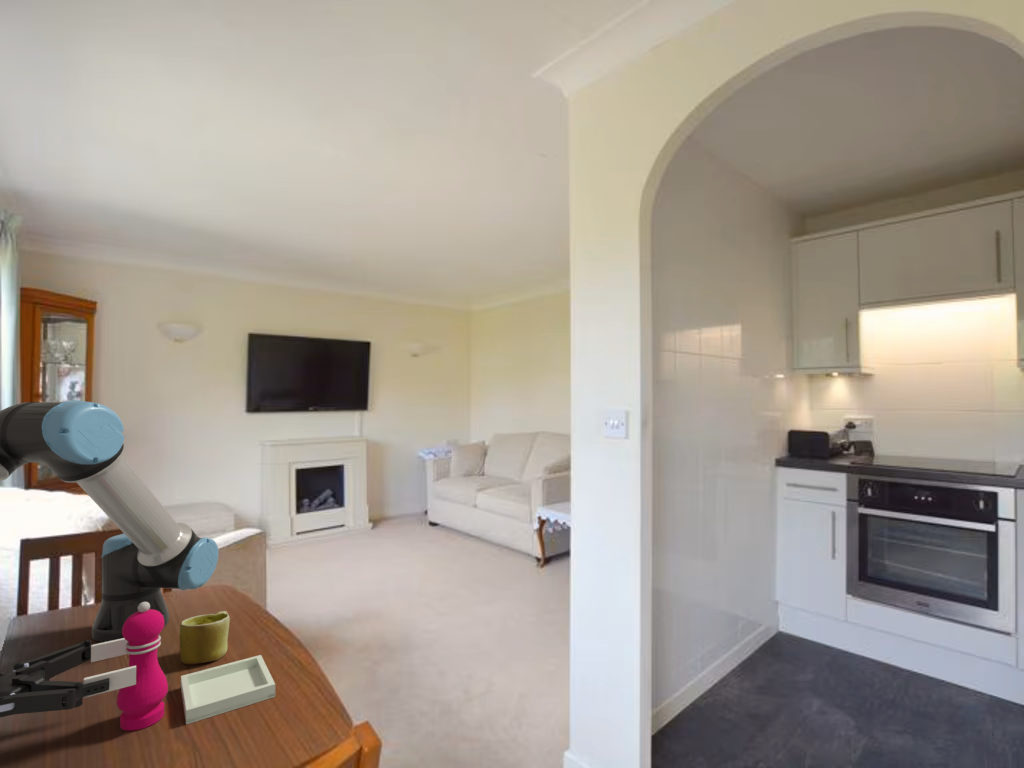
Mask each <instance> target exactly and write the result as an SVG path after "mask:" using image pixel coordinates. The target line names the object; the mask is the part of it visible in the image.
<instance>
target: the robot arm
mask: <svg viewBox="0 0 1024 768" xmlns="http://www.w3.org/2000/svg"><path fill="white" fill-rule="evenodd" d="M124 431H125V428H124V424H123V421H122V420H121V418H120V417H119V415H118V414H117V413H116V412H115V411H114V410H113V409H112V408H110V407H109V406H106V405H104V404H102V403H99V402H92V401H84V400H67V401H29V402H28V401H27V402H21V403H18V404H13V405H10V406H8V407H6V408H4V409H2V410H0V481H5V480H7V479H8V478H9V477H10V476H11V475H12V474H13V473H14V472H15V471H16V470H18V469H19V468H21V467H23V466H25V465H27V464H29V463H30V464H31V463H33V464H45V465H46V466H47V467H48V468H49V470H50V471H51V472H53V474H55V476H57V477H58V478H59V480H60V481H62V482H64V483H76V484H77V485H78V486H79V487H80V488H81V489H82V490H83V491H84V492H85V493H86V494H87V496H88V497H89V498H91V500H92V501H93V502H94V503H95V504H96V505H97V506H98V507H99V508H100V509H101V511H102V512H104V514H105V515H106V516H107V517H108V518H109V519H110V520H111V522H113V523H114V524H115V525H116V527H117V528H118V529H119V530H120V531H121V532H122V533H120V534H117V535H113V536H111V537H109V538H108V539H106V540H104V543H102V544H103V545H102V554H101V557H100V558H101V603H100V605H99V608H98V611H97V613H96V616H95V619H94V621H93V623H92V627H91V638H92V639H93V640H94V641H96V642H99V643H94V644H92V640H91V639H86V640H84V641H82V642H79V643H76V644H73V645H70V646H69V645H68V646H66V647H63V648H61V649H59V650H55V651H52V652H50V653H47V654H43V655H41V656H38V657H35V658H32V659H29V660H23V661H20V662H16V663H13V665H12V672H9V673H6V674H2V673H1V672H0V718H5V717H8V716H12V715H13V716H14V715H21V714H33V713H45V712H54V711H66V710H67V711H68V710H72V709H74V708H79V707H81V706H83V699H85V698H89V697H93V696H98V695H101V694H105V693H110V692H113V691H117V690H119V689H121V688H124V687H128V686H132V685H136V666H132V667H129V666H128V667H124V668H120V669H117V670H112V671H111V670H110V671H107V672H104V673H99V674H95V675H91V676H87V677H84V678H83V681H69V680H68V681H67V680H66V681H65V680H50V679H51V678H54V677H56V676H58V675H60V674H62V673H64V672H67V671H69V670H71V669H73V668H76V667H77V666H80V665H81V664H84V663H86V662H88V661H90V663H94V662H99V661H103V660H107V659H111V658H112V659H113V658H115V657H120V656H124V655H128V654H127V653H126V652H125V650H126V646H125V645H126V643H127V642H128V641H127V640H125V639H124V637H123V635H122V628H123V625H124V623H125V621H126V620H127V619H128V618H129V617H130V616H131V615H132V614H134V613H136V612H138V606H139V604H140V603H142V602H148V603H149V604H150V608H149V609H152V610H157V611H159V612H160V613H161V614H162V615H163V617H164V627H165V626H166V625H168V623H169V620H170V612H169V608H168V606H167V604H166V601H165V599H164V596H163V594H162V589H174V590H181V591H187V590H197V589H198V588H201V587H203V586H204V585H205V584H206V583H207V582H208V581H209V580H210V579H211V577H213V574H214V572H215V570H216V568H217V565H218V562H219V561H218V560H219V553H220V552H219V546H218V544H217V543H216V541H215V540H214V539H213V538H208V537H207V536H205V537H204V536H203V537H200V536H198V535H197V534H196V533H195V531H194V530H193V529H192V528H191V527H190V526H189V525H188V524H187V523H185V522H177V521H176V520H175V519H174V517H173V516H172V515H171V514H170V513H169V512H168V510H167V509H166V507H164V505H162V503H161V502H160V501H159V499H158V498H157V497H156V495H155V494H154V493H153V492H152V491H151V489H150V488H149V486H147V484H146V483H145V482H144V480H142V478H141V477H140V476H139V475H138V474H137V472H136V471H135V470H134V468H133V467H132V466H131V465H130V464H129V463H128V462H127V460H126V459H125V458H124V457H123V453H124V451H125V448H126V447H125V444H124V441H125V435H124V434H123V432H124Z"/></svg>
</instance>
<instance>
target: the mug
mask: <svg viewBox="0 0 1024 768" xmlns="http://www.w3.org/2000/svg"><path fill="white" fill-rule="evenodd" d="M230 621H231V618H230V615H229V613H228V611H226V610H222V611H217V612H216V613H215V614H214V613H209V614H202V615H200V614H199V615H196V616H191V617H188V618H186V619H183V620H182V621H181V623H180V626H179V639H178V640H179V657H180V661H181V662H182V663H183V664H184V665H197V664H203V663H208V662H209V663H210V662H215V661H219V660H220V659H221V658H223V657H224V656H225V655H226V653H227V651H228V648H229V647H228V637H229V628H230Z"/></svg>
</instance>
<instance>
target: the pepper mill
mask: <svg viewBox="0 0 1024 768" xmlns="http://www.w3.org/2000/svg"><path fill="white" fill-rule="evenodd" d="M149 608H150V604H149V603H148V602H142V603H140V604H139V606H138V612H136V613H134V614H132V615H131V616H130V617H129V618H128V619H127V620H126V621H125V623H124V625H123V628H122V635H123V637H124V639H125V640H127V641H128V642H127V643H126V645H125V646H126V650H125V652H126V653H127V654H126V655H128V667H132V666H136V685H132V686H128V687H124V688H121V689H118V693H117V696H116V697H117V698H116V706H117V708H118V709H119V710H120V711H122V712H121V713H120V715H119V716H120V717H119V727H120V729H121V730H123V731H128V732H132V731H138V730H142V729H145V728H148V727H151V726H153V725H154V724H156V723H158V722H159V721H161V719H162V718H163V717H164V716H165V702H164V701H163V700H164V699H165V698H166V696H167V694H168V691H169V685H168V680H167V677H166V675H165V673H164V671H163V670H162V668H161V666H160V664H159V659H158V650H159V648H160V646H161V644H162V643H161V640H162V637H161V635H160V634H161V632H162V631H163V630H164V627H165V626H164V617H163V615H162V614H161V613H160V612H159V611H157V610H152V609H149Z"/></svg>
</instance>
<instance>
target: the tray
mask: <svg viewBox="0 0 1024 768" xmlns="http://www.w3.org/2000/svg"><path fill="white" fill-rule="evenodd" d="M180 691H181V693H180V694H181V699H182V704H183V712H184V719H185V725H189V724H193V723H195V722H199V721H201V720H205V719H208V718H211V717H215V716H218V715H221V714H224V713H225V714H226V713H227V712H230V711H234V710H237V709H241V708H243V707H246V706H249V705H253V704H256V703H261V702H262V701H263V702H264V701H265V700H269V699H272V698H275V697H276V683H275V680H274V678H273V676H272V674H271V673H270V670H269V668H268V667H267V664H266V662H265V660H264V658H263V656H262V654H259V655H255V656H251V657H248V658H244V659H243V658H242V659H240V660H235V661H232V662H228V663H226V664H225V663H224V664H221V665H218V666H212V667H210V668H205V669H202V670H199V671H195V672H191V673H187V674H184V675H180Z"/></svg>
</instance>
